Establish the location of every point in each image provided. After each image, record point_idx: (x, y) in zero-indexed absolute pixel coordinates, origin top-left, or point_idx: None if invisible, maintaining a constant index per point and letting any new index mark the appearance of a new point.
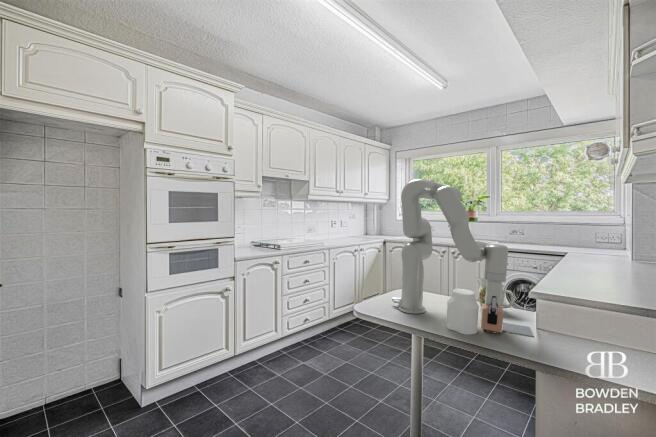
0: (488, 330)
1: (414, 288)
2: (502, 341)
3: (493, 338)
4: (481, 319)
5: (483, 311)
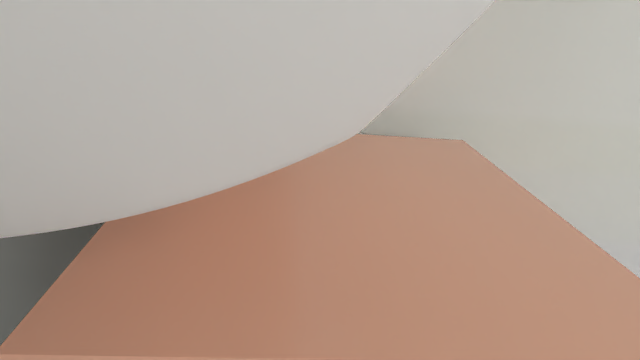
0: None
1: None
2: (19, 322)
3: (50, 242)
4: (385, 159)
5: (63, 303)
